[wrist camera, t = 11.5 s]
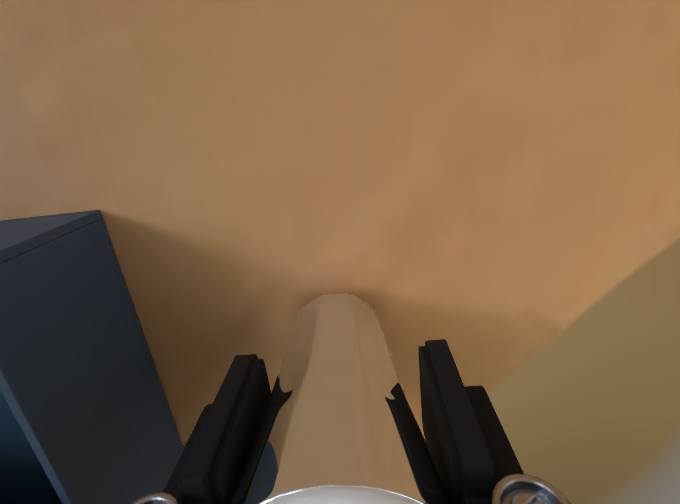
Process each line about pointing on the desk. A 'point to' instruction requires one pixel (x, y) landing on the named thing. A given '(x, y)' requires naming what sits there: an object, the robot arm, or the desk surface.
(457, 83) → the desk surface
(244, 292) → the desk surface
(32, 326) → the carton
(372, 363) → the milkshake
